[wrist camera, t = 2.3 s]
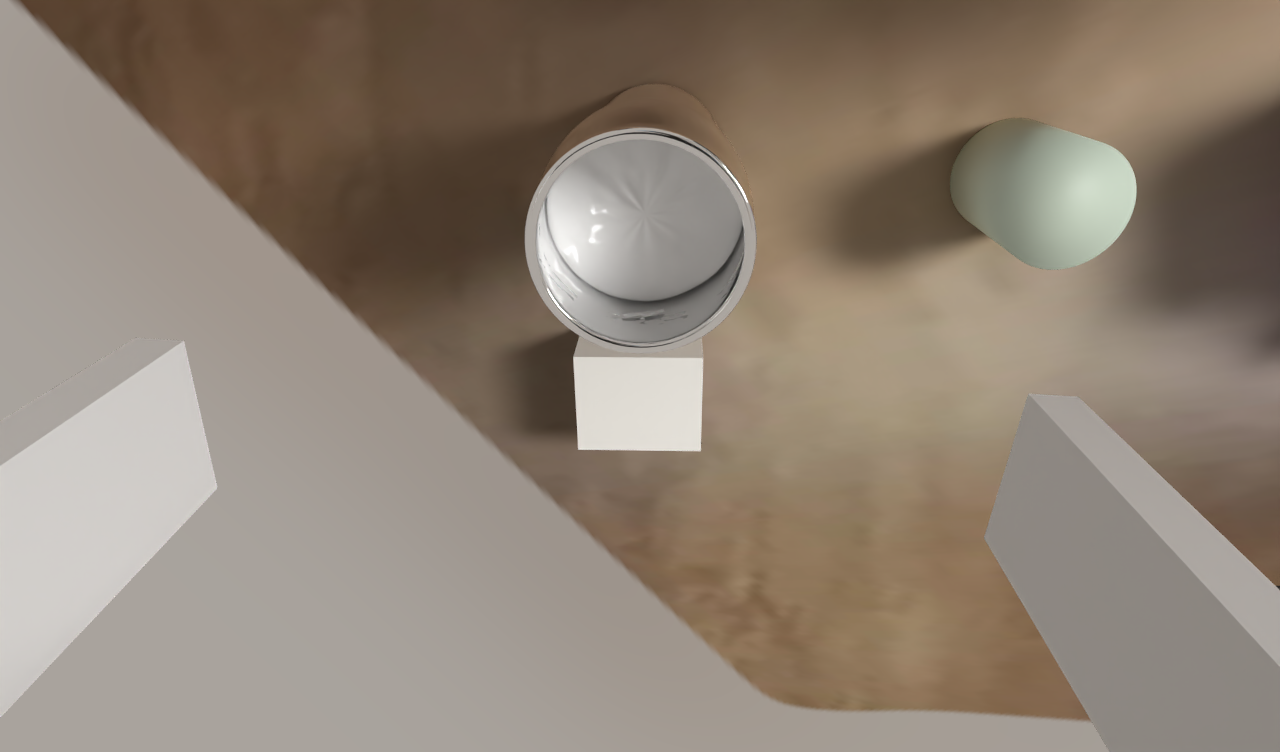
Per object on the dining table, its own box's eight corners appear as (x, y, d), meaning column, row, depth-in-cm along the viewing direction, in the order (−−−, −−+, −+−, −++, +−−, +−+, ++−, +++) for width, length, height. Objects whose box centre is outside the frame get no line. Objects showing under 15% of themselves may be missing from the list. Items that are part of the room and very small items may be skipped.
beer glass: (752, 195, 36) (797, 312, 22) (615, 250, 37) (579, 391, 23) (698, 45, 33) (712, 74, 19) (553, 111, 34) (472, 180, 21)
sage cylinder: (964, 114, 34) (1018, 135, 28) (1079, 121, 33) (1155, 143, 28) (938, 226, 36) (985, 265, 30) (1046, 232, 36) (1111, 273, 30)
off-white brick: (586, 410, 41) (578, 449, 38) (582, 324, 39) (573, 356, 35) (698, 411, 41) (700, 451, 37) (700, 325, 39) (703, 357, 35)
